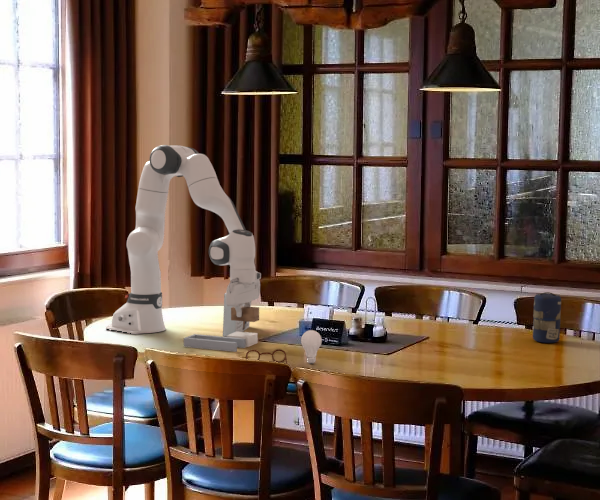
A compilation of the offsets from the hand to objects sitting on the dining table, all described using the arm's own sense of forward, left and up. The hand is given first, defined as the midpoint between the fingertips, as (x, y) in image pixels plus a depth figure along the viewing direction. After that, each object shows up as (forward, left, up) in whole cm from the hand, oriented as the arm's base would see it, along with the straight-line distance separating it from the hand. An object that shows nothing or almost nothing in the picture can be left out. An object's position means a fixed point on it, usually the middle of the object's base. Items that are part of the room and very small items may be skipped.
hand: (243, 315), depth 361 cm
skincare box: (-12, +20, -11) cm, 25 cm away
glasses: (+23, -29, -11) cm, 39 cm away
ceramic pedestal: (0, 0, -10) cm, 10 cm away
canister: (+97, +50, -10) cm, 109 cm away
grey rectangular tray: (-6, -9, -10) cm, 15 cm away
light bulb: (+34, -19, -10) cm, 40 cm away
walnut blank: (+1, 0, -2) cm, 2 cm away
